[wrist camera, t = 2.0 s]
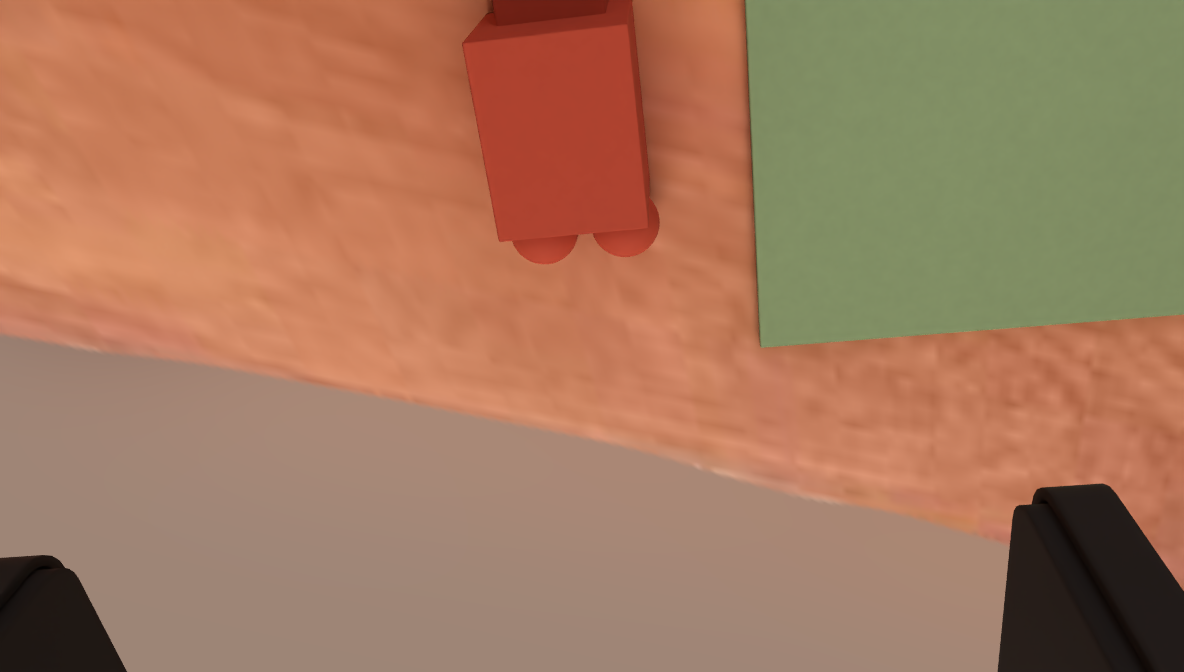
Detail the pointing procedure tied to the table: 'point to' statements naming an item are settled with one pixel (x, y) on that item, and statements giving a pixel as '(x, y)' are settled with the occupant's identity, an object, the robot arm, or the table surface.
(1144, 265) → the green cloth
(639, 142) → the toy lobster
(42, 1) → the table surface
